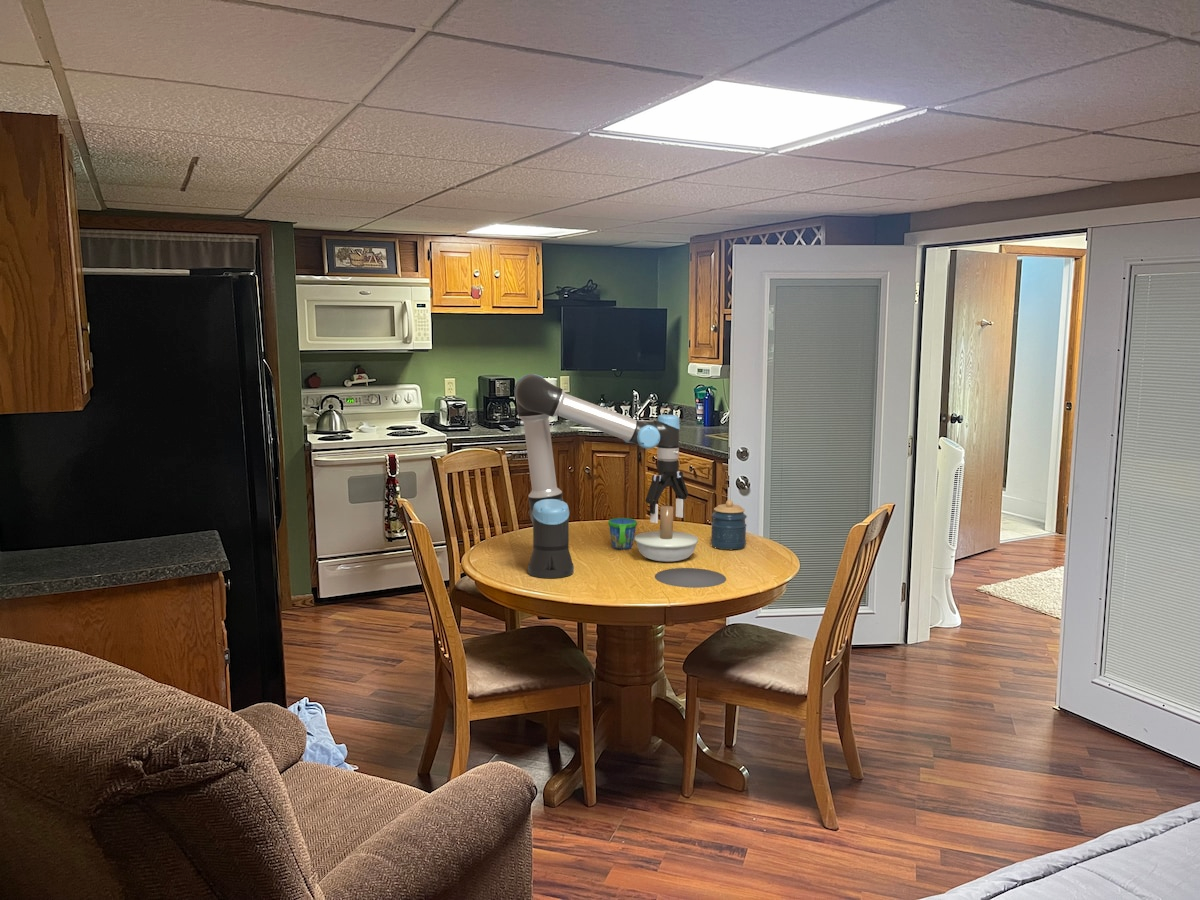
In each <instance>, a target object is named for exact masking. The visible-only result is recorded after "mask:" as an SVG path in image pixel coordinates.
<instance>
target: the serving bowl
mask: <svg viewBox="0 0 1200 900" xmlns="http://www.w3.org/2000/svg"><path fill="white" fill-rule="evenodd" d="M696 546H697V544H695V545H693V546H689V547H683V548H656V547H649V546H644V545H641V544H638V543H637V542H636V547H637V550H638V552H639V553H640V554H641V555H642V556H643V557H645V558H646V559H648V560H652V561H655V562H662V563H663V562H664V563H668V562H669V563H671V562H680V561H682V560H686V559H688V558H689V557H690V556H692V554H693V553H694V552H695V550H696Z"/></svg>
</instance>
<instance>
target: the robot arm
mask: <svg viewBox="0 0 1200 900" xmlns="http://www.w3.org/2000/svg"><path fill="white" fill-rule="evenodd" d="M513 389H514V391H513V393H514V397H515V401H516V410H517V411H516V412H517V417H518V418H520V420H521V421H523V427H524V428H523V430H524V437H525V438H524V439H525V445H526V453H527V454H526V455H527V459H528V468H529V469H528V470H529V476H530V484H531V490H530V493H528V496H527V498H528V503H529V517H530V521H531V522H532V523H531V524H532V533H533V534H532V552H531V557H530V558H529V559H530V560H529V563H528V565H527V573H529V574H528V575H530V576H532V577H534V578H540V579H560V578H561V579H562V578H566V577H569V576H571V575H573V574H575V573H574V572H575V570H574V569H575V568H574V563H573V560H572V556H571V553H570V549H569V547H570V546H569V543H570V542H569V541H570V540H569V539H570V538H569V536H570V535H569V534H570V533H569V525H570V524H569V516H570V509H569V505H568V503H567V502H565V501H564V498H563V497H564V496H563V491H562V490H561V489H560V488H559V487H558V484H557V483H558V482H557V478H556V476H557V475H556V469H555V461H554V459H555V458H554V453H553V442H552V435H551V428H550V419H549V418H550V417H551V418H554V417H557V416H558V417H561V418H564V419H566V420H569V421H572V422H575V423H578V424H580V425H583V426H586V427H589V428H591V429H594V430H596V431H600V432H602V433H605V434H608V435H609V436H613V437H616V438H618V439H621V440H623V441H624V442H625V443H627V444H628V443H630V444H635V445H636V446H639V447H640V448H642V449H645V450H647V449H648V450H650V449H654V448H657V449H656V452H657V453H656V454H657V455H656V458H657V460H656V469H657V471H658V474H657V475H656V474H653V475H652V476H651V483H650V486H649V488H648V492H647V495H646V498H645V503H647V504H649V514H650V518H649V521H650V523H653V524H658V523H659V504H658V501H659V500H660V498H661V495H662V494H663V491H664V490H665V489H666V488H668V487H671V489H672V490H673V492H674V493H675V496H676V497H677V498H676V499H675V517H676V518H679V519H680V518H683V519H684V507H685V505H684V503H685V500H687V498H688V496H689V491H688V489H687V486H686V483H685V480H684V473H683V471H679V469H680V462H679V460H678V459H680V455H679V454H680V430H681V428H680V427H681V425H680V424H681V423H680V417H679V415H677V414H659V415H658V416H657V419H656V420H637V419H635V418H633V417H629V416H627V415H624V414H621V413H618V412H616V411H614V410H611V409H608V408H606V407H603V406H601V405H597V404H595V403H592V402H589V401H587V400H584V399H582V398H578V397H576V396H573V395H570V394H568V393H566V392H565V390H564V388H561V387H558V386H556V385H554V384H552V383H550V382H548V380H546V379H545V378H544V377H543V376H541V375H540V374H539V375H538V374H535V373H529V374H526V375H523V376H521V377H520V378H519V379H518V380H517V382H516V384H515V385H514V388H513Z"/></svg>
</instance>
